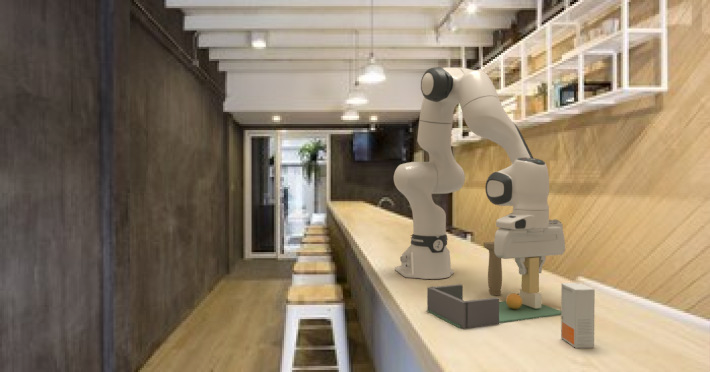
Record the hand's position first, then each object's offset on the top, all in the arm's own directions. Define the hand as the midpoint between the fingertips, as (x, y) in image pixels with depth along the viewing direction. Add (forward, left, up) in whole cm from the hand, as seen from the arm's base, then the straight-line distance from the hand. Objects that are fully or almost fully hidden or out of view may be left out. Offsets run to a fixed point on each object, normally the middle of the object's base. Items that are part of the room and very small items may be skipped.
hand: (530, 273), depth 131 cm
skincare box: (+25, -9, -9) cm, 28 cm away
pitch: (0, -11, -9) cm, 14 cm away
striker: (0, 0, -9) cm, 9 cm away
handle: (-16, +1, -9) cm, 19 cm away
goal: (0, -20, -9) cm, 22 cm away
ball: (0, -5, -7) cm, 8 cm away
